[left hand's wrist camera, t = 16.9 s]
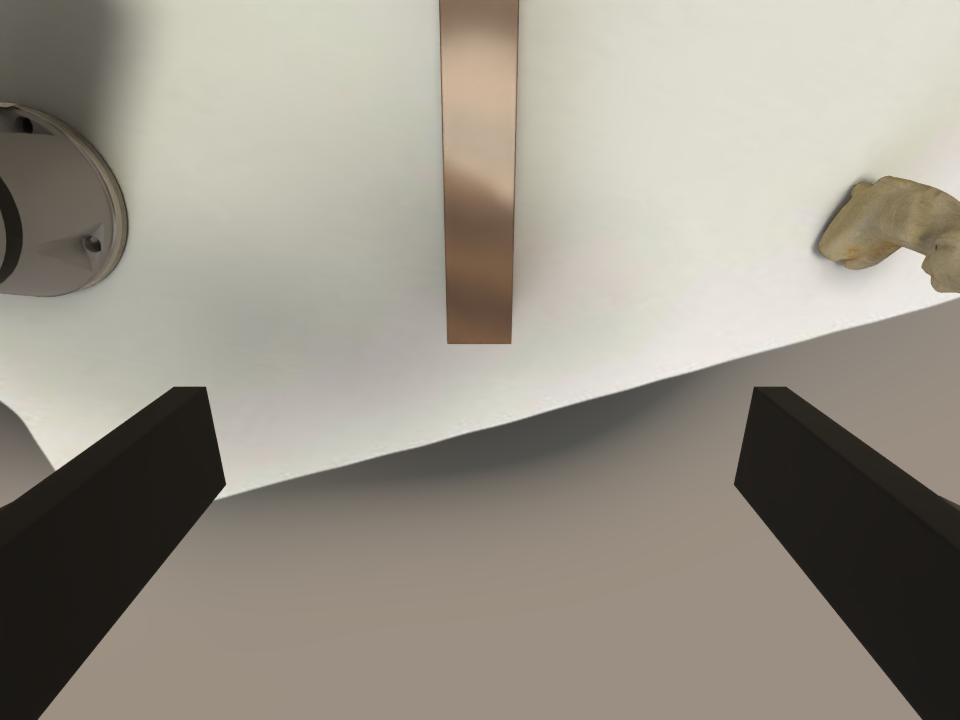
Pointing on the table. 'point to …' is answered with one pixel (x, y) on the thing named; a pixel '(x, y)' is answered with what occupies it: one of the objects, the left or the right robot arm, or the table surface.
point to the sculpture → (898, 229)
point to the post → (479, 165)
